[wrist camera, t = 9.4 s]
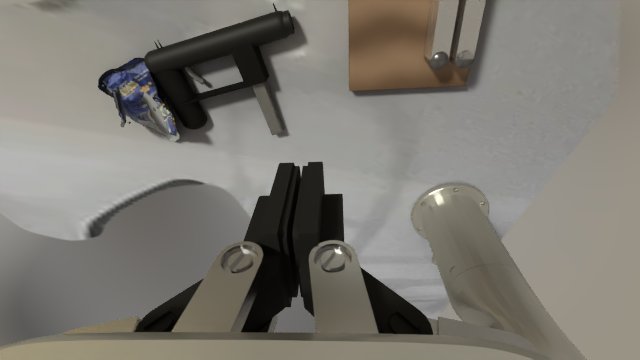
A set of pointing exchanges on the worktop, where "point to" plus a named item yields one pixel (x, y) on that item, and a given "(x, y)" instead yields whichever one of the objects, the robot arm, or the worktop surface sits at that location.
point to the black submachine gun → (213, 45)
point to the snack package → (137, 96)
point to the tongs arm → (440, 32)
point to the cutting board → (394, 47)
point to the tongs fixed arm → (466, 32)
